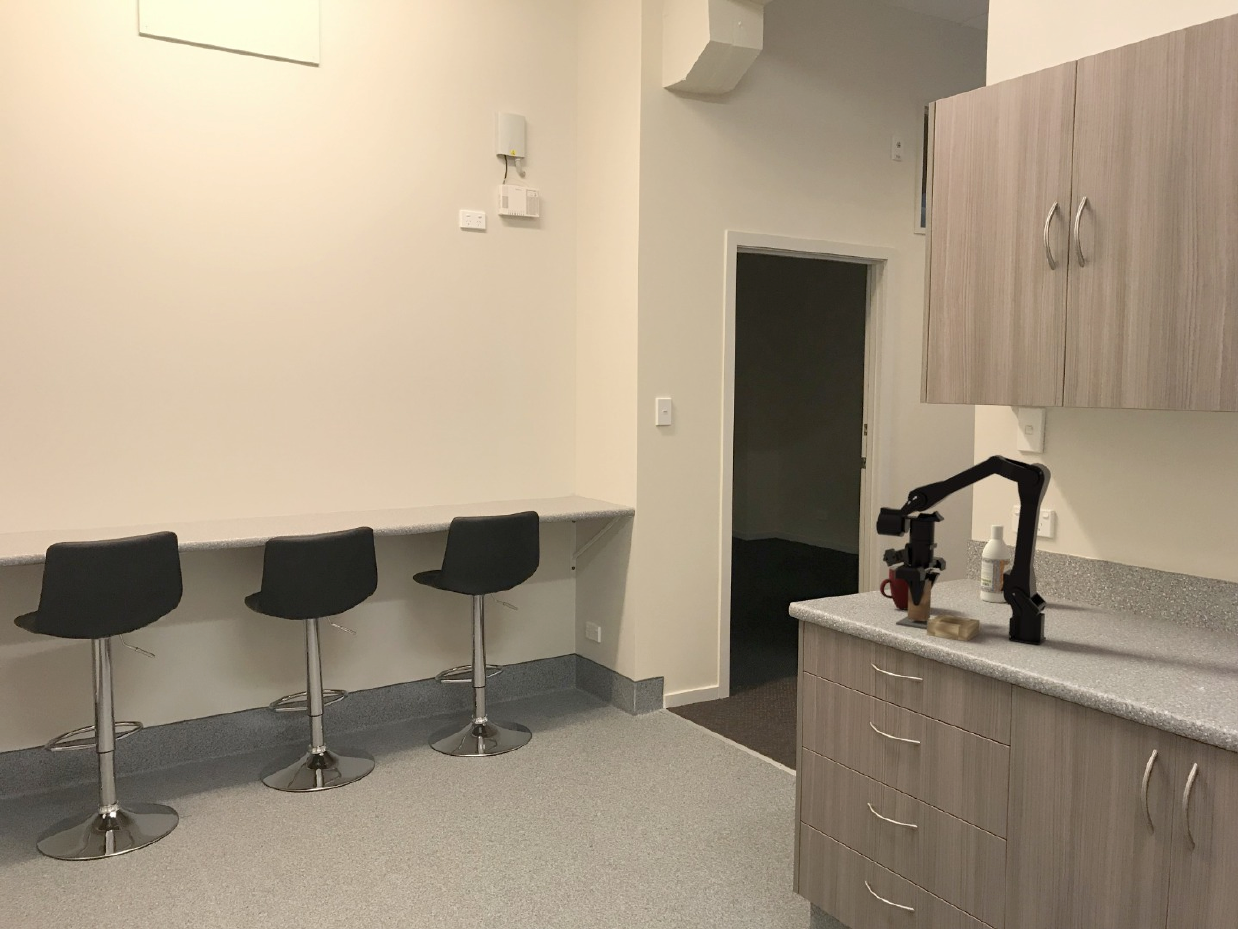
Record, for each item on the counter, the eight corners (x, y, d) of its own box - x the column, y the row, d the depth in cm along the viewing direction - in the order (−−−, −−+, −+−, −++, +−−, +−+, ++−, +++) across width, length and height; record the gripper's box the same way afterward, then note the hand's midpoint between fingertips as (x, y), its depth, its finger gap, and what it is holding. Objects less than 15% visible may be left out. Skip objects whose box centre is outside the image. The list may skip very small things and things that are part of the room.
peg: (930, 617, 234) (931, 580, 234) (924, 621, 231) (925, 583, 230) (913, 615, 237) (914, 578, 236) (907, 618, 234) (908, 581, 233)
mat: (940, 623, 235) (940, 621, 235) (929, 629, 229) (929, 627, 228) (908, 617, 240) (908, 615, 240) (896, 624, 233) (896, 622, 233)
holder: (979, 633, 226) (979, 620, 226) (966, 641, 219) (967, 628, 219) (940, 626, 232) (940, 614, 231) (926, 634, 224) (927, 621, 224)
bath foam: (1001, 604, 254) (1004, 528, 253) (975, 600, 259) (978, 525, 258) (1012, 600, 259) (1016, 525, 257) (987, 596, 264) (990, 522, 262)
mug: (890, 612, 245) (891, 573, 244) (873, 605, 253) (874, 567, 252) (927, 610, 248) (928, 571, 247) (909, 603, 255) (910, 565, 254)
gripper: (903, 530, 244) (901, 592, 246) (873, 540, 230) (871, 606, 231) (947, 535, 238) (945, 598, 239) (920, 545, 223) (918, 613, 224)
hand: (919, 603), depth 234 cm, fingers closed on peg, 4 cm apart
